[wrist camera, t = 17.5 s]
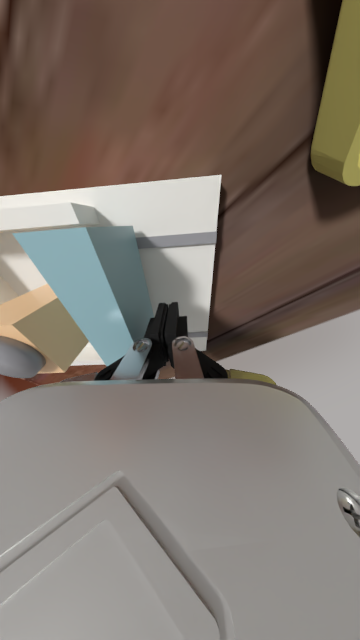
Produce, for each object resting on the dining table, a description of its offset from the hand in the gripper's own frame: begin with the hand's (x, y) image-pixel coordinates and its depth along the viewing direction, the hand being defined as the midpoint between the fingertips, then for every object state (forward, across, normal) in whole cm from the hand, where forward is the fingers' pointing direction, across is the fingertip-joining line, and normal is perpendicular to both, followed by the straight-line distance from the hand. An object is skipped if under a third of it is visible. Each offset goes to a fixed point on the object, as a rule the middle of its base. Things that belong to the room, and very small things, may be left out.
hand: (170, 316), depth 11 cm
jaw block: (+3, +11, 0) cm, 11 cm away
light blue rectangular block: (+3, +4, 0) cm, 5 cm away
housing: (+4, +8, 0) cm, 9 cm away
